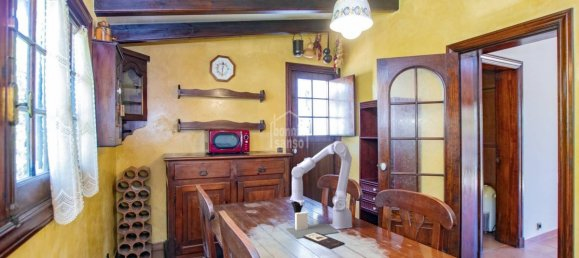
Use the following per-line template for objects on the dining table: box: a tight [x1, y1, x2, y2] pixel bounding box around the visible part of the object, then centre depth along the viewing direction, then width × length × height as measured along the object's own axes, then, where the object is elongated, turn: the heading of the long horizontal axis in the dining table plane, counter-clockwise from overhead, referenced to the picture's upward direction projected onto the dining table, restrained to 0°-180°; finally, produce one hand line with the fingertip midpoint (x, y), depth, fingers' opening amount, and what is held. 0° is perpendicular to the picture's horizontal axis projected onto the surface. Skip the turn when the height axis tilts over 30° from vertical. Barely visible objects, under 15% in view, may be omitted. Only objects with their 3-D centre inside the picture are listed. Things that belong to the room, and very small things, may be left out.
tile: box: [294, 211, 309, 230], centre depth 152 cm, size 6×2×8 cm, turn 110°
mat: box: [286, 223, 339, 240], centre depth 150 cm, size 22×14×1 cm, turn 110°
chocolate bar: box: [303, 232, 346, 250], centre depth 137 cm, size 9×1×18 cm
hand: (297, 216), depth 157 cm, fingers closed
